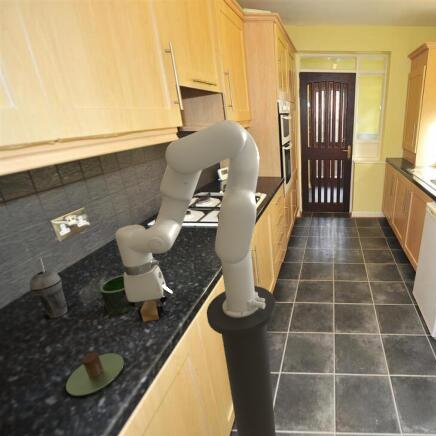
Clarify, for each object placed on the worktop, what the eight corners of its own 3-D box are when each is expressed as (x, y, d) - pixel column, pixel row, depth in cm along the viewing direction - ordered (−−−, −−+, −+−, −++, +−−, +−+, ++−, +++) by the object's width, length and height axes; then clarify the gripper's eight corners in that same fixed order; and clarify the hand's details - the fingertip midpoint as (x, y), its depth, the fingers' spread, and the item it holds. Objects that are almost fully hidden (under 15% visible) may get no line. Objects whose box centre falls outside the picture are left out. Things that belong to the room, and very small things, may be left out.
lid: (135, 362, 70) (129, 344, 67) (90, 404, 59) (82, 385, 57) (102, 352, 73) (96, 334, 71) (55, 390, 63) (46, 371, 60)
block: (162, 310, 88) (159, 299, 87) (158, 319, 84) (155, 308, 83) (147, 312, 87) (144, 301, 86) (143, 321, 83) (140, 310, 82)
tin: (149, 297, 95) (144, 277, 92) (123, 317, 86) (116, 295, 83) (127, 292, 98) (121, 272, 95) (99, 310, 88) (91, 289, 85)
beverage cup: (37, 320, 85) (12, 265, 78) (60, 305, 91) (39, 253, 84) (56, 322, 84) (32, 266, 77) (78, 307, 90) (58, 254, 83)
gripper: (173, 256, 84) (183, 304, 91) (113, 263, 81) (128, 312, 88) (167, 268, 78) (178, 319, 84) (101, 276, 74) (118, 328, 81)
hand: (152, 315), depth 86 cm, fingers closed on block, 4 cm apart
